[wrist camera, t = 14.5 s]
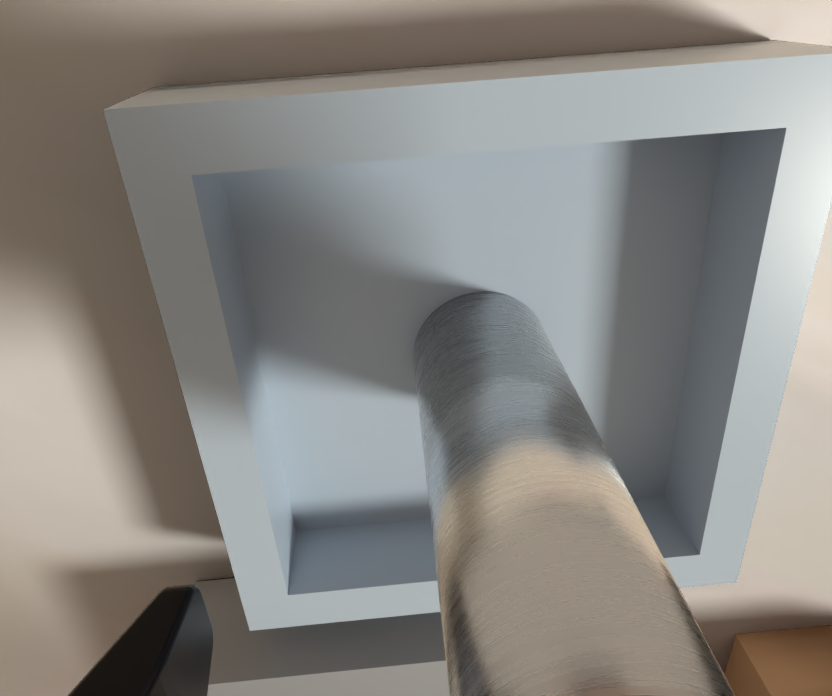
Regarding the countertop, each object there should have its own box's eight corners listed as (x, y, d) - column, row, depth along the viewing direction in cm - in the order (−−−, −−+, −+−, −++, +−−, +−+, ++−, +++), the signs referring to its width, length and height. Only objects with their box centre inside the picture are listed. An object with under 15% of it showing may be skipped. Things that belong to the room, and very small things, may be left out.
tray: (774, 39, 12) (869, 50, 9) (688, 506, 17) (736, 582, 15) (153, 87, 11) (102, 109, 9) (265, 546, 17) (249, 630, 14)
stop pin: (569, 266, 13) (981, 816, 4) (561, 417, 14) (840, 1035, 6) (386, 279, 13) (412, 873, 4) (400, 431, 14) (439, 1077, 6)
